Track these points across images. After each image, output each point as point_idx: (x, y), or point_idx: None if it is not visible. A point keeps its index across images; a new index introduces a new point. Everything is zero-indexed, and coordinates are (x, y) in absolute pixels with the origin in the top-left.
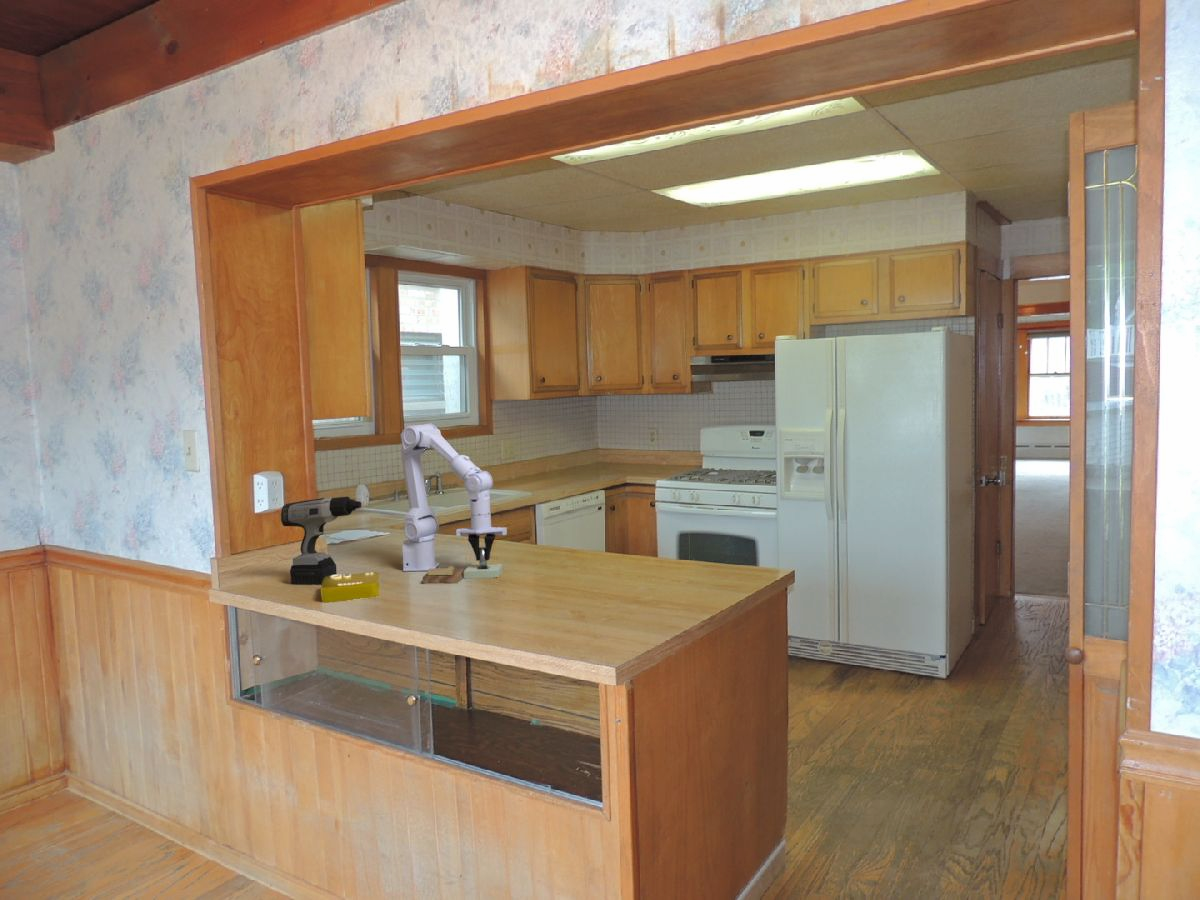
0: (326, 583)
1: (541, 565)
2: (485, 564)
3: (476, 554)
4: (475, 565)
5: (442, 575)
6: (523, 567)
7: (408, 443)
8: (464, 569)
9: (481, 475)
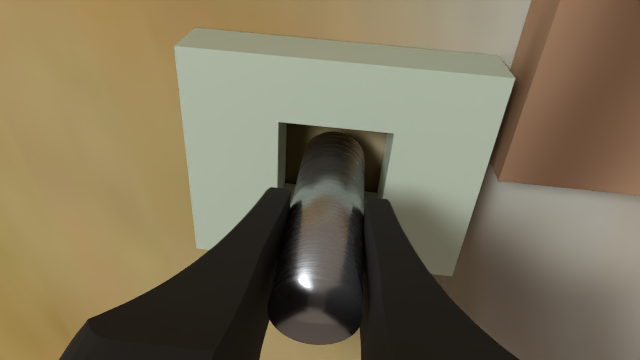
0: None
1: (13, 287)
2: (305, 170)
3: (388, 230)
4: None
5: None
6: (105, 269)
7: None
8: (498, 172)
9: None
